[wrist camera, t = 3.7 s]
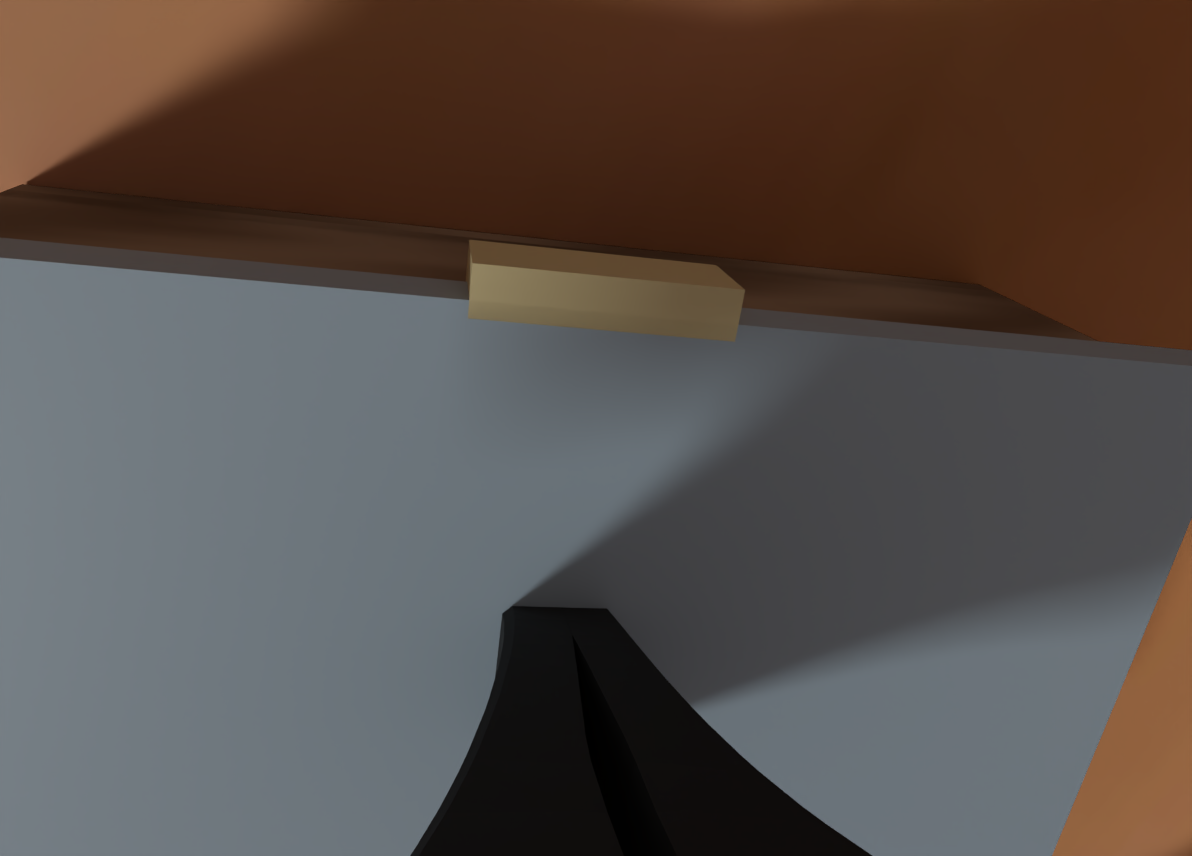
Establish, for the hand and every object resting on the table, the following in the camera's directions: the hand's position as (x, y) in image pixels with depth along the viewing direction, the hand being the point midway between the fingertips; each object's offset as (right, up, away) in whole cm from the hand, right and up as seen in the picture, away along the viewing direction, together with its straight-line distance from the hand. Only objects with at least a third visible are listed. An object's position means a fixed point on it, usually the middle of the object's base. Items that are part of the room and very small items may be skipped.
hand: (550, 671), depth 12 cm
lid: (0, -1, +1) cm, 2 cm away
